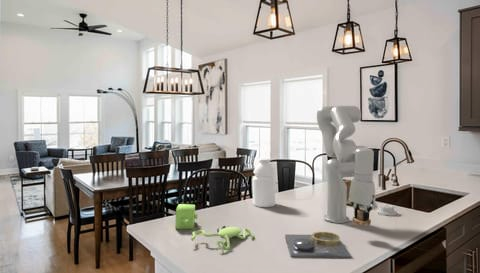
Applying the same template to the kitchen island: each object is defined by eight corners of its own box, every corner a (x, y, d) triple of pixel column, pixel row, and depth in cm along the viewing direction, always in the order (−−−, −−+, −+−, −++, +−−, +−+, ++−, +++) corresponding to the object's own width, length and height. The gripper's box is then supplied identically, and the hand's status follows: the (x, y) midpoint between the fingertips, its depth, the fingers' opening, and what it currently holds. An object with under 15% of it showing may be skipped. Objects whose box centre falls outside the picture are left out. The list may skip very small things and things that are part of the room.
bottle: (263, 200, 210) (263, 157, 209) (280, 204, 200) (280, 158, 199) (248, 204, 201) (247, 158, 200) (264, 208, 191) (264, 160, 189)
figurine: (185, 246, 136) (185, 232, 135) (226, 228, 157) (226, 217, 156) (219, 257, 124) (219, 242, 124) (258, 237, 146) (258, 224, 145)
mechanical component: (400, 216, 176) (391, 211, 186) (400, 208, 176) (391, 203, 186) (382, 216, 176) (373, 211, 186) (382, 208, 176) (373, 203, 186)
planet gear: (350, 219, 146) (350, 207, 146) (367, 219, 146) (367, 207, 145) (355, 225, 139) (355, 213, 138) (373, 226, 138) (373, 213, 138)
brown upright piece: (331, 201, 208) (331, 178, 207) (346, 199, 212) (346, 176, 211) (347, 207, 194) (347, 182, 193) (363, 205, 198) (363, 180, 197)
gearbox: (195, 233, 152) (196, 212, 151) (174, 232, 151) (174, 212, 150) (198, 220, 169) (198, 202, 169) (178, 220, 169) (179, 201, 168)
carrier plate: (285, 237, 143) (285, 229, 143) (336, 238, 143) (336, 230, 143) (290, 256, 124) (290, 247, 123) (349, 257, 123) (350, 248, 123)
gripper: (341, 174, 145) (340, 215, 147) (376, 182, 131) (374, 226, 133) (351, 172, 149) (350, 212, 151) (386, 179, 136) (384, 222, 138)
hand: (361, 218), depth 142 cm, fingers closed on planet gear, 3 cm apart
